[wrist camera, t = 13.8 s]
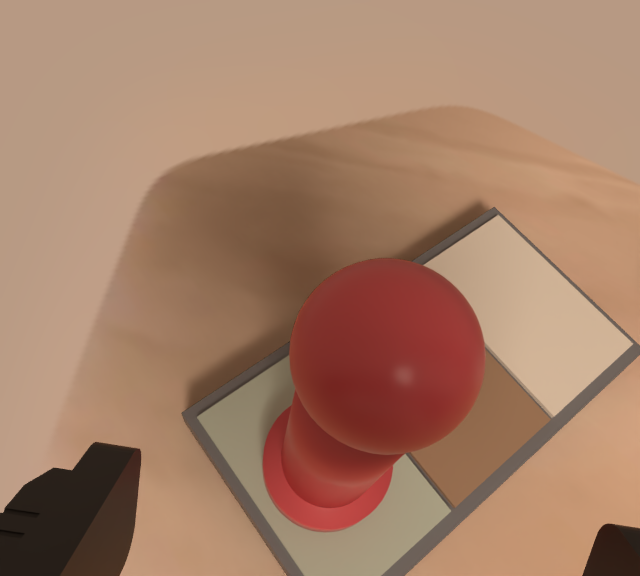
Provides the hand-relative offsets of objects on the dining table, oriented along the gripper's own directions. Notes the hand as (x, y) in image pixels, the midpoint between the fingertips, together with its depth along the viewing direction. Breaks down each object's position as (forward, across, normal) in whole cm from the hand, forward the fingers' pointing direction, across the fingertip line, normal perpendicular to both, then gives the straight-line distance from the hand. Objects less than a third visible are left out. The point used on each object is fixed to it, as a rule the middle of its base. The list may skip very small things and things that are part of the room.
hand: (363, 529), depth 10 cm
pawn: (+9, 0, +5) cm, 11 cm away
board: (+13, -4, +3) cm, 14 cm away
